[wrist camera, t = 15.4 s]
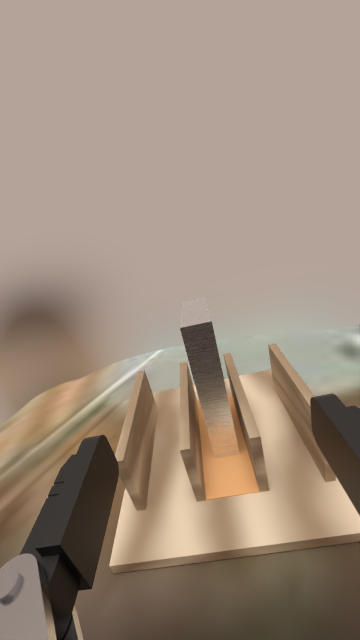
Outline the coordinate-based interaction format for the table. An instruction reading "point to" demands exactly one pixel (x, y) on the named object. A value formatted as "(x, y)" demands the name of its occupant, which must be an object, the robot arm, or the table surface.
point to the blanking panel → (208, 376)
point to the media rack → (225, 475)
